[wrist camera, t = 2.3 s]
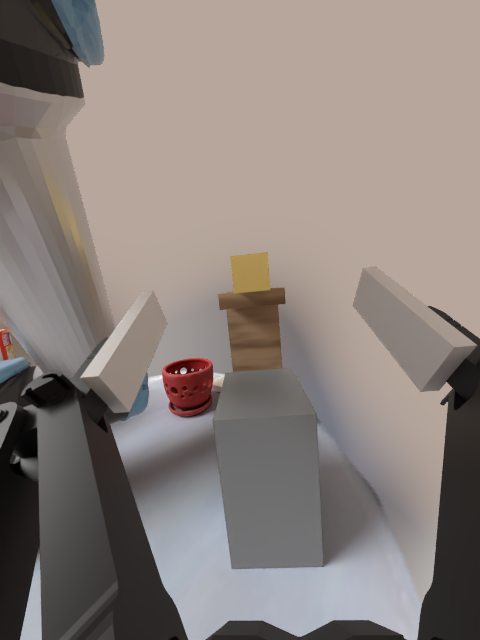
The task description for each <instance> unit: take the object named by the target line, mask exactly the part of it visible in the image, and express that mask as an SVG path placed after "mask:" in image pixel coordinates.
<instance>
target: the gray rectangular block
mask: <svg viewBox="0 0 480 640" xmlns="http://www.w3.org/2000/svg"><path fill="white" fill-rule="evenodd" d="M213 426H214V434H215V442H216V450H217V458H218V465H219V473H220V481H221V489H222V497H223V504H224V512H225V520H226V528H227V536H228V543H229V551H230V559H231V567H232V569H242V568H284V567H323V546H322V524H321V503H320V481H319V459H318V438H317V416H316V412H315V411H314V409H313V407H312V405H311V403H310V401H309V399H308V398H307V396H306V394H305V392H304V390H303V389H302V387H301V385H300V383H299V381H298V379H297V377H296V375H295V374H294V372H293V370H292V368H283V369H270V370H257V371H244V372H232V373H226V374H225V377H224V381H223V385H222V388H221V392H220V396H219V399H218V403H217V407H216V411H215V414H214V418H213Z"/></svg>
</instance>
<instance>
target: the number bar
mask: <svg viewBox="0 0 480 640" xmlns="http://www.w3.org/2000/svg"><path fill="white" fill-rule="evenodd" d="M230 258H231V269H232V278H233V288H234V294H235V293H245V292H256V291H266V290H270V280H269V267H268V253H267V252H266V253H257V254H247V255H239V256H231V257H230Z"/></svg>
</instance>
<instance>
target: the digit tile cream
mask: <svg viewBox="0 0 480 640" xmlns="http://www.w3.org/2000/svg"><path fill="white" fill-rule="evenodd" d="M223 381H224V377H222V376H220V377H218V378H217V379H215V380H214V381H213V386H212V391H216V392H221V388H222V385H223Z"/></svg>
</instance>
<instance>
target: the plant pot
mask: <svg viewBox="0 0 480 640" xmlns="http://www.w3.org/2000/svg"><path fill="white" fill-rule="evenodd" d="M183 367H185V368H186V369H187V372H186V374H181V373H180V369H181V368H183ZM205 367H206V368H205ZM192 368H193V369H194V371H191V369H192ZM199 369H202V370H201V371H199ZM176 370H177V371H178V372H177V373H175V371H176ZM170 373H171V374H170ZM162 376H163V383H164V387H165V391H166V394H167V396H168V398H169V400H170V402H169V409H170V411H171V412H172V413H174V414H176V415H179V416H191V415H195V414H198V413H200V412H202V411H204V410H205V409H206V408H207V407H208V406H209V405H210V404H211V402H212V395H211V394H210V393H211V391H212V386H213V365H212V362H211V361H209V360H207V359H202V358H191V359H184V360H179V361H176V362H173V363H170V364H168V365H166V366H165V367H164V368H163V370H162Z"/></svg>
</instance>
